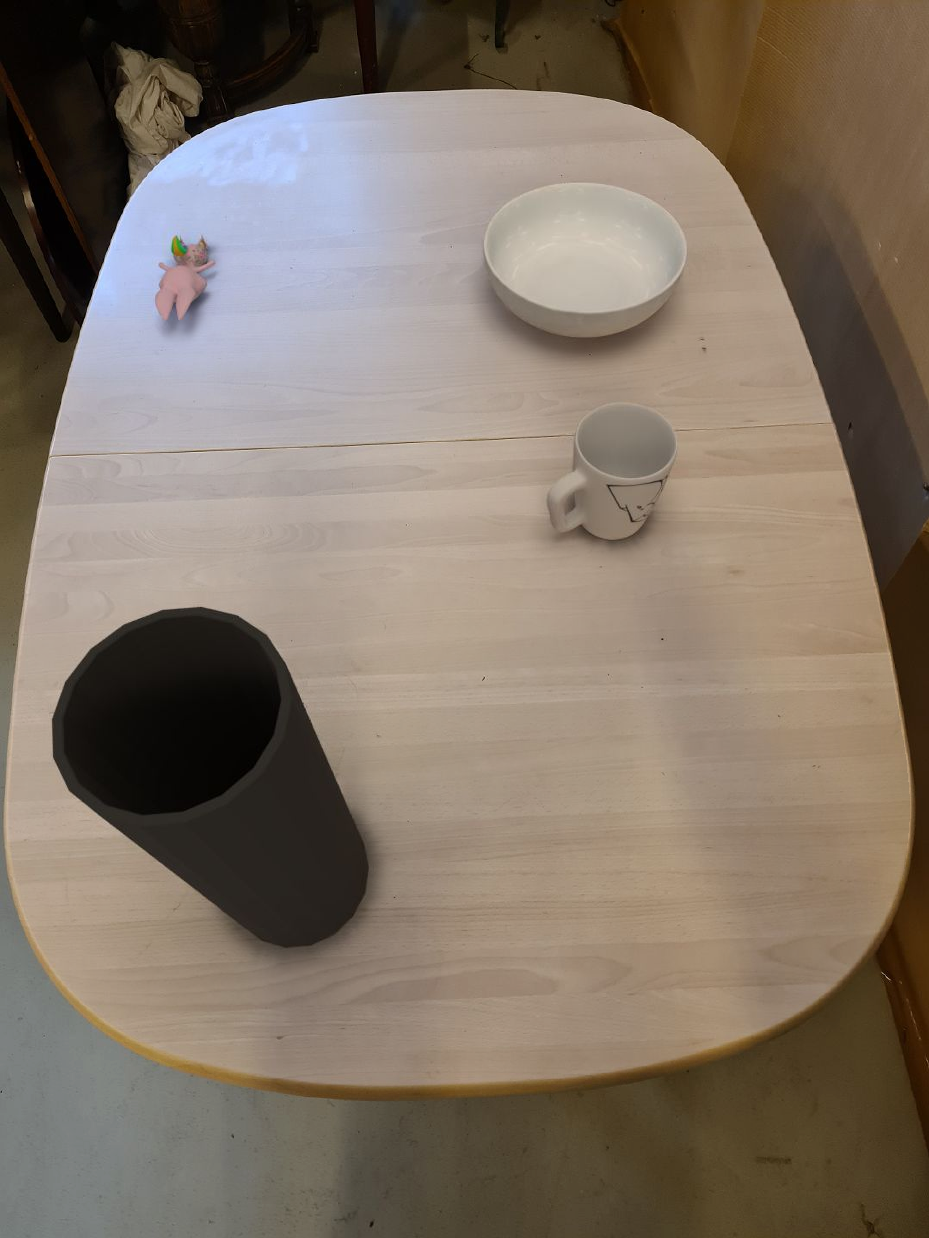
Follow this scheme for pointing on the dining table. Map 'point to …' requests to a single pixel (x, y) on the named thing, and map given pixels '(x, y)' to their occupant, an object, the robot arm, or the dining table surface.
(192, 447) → the dining table surface
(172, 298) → the pink soft figure
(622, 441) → the mug
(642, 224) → the serving bowl
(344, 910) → the vase
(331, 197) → the dining table surface
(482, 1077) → the dining table surface
